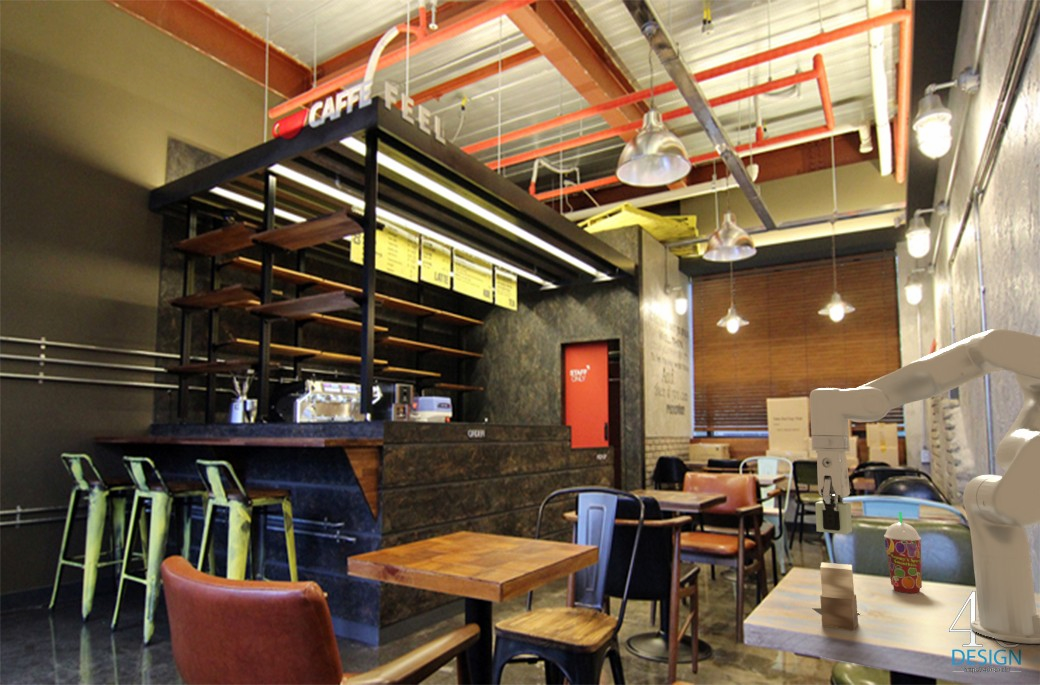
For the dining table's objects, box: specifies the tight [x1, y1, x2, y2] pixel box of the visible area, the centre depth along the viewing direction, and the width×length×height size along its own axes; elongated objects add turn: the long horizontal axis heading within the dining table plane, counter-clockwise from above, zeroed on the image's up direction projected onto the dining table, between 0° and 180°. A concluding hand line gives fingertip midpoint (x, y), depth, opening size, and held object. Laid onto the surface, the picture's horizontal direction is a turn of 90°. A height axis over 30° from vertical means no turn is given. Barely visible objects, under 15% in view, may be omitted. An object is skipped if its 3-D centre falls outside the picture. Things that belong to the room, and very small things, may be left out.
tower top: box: [819, 562, 855, 600], centre depth 136 cm, size 6×6×6 cm
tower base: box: [820, 593, 859, 631], centre depth 135 cm, size 6×6×6 cm
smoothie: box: [883, 511, 923, 594], centre depth 166 cm, size 8×8×20 cm
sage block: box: [814, 500, 853, 535], centre depth 138 cm, size 6×6×6 cm
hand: (834, 527), depth 138 cm, fingers closed on sage block, 6 cm apart
